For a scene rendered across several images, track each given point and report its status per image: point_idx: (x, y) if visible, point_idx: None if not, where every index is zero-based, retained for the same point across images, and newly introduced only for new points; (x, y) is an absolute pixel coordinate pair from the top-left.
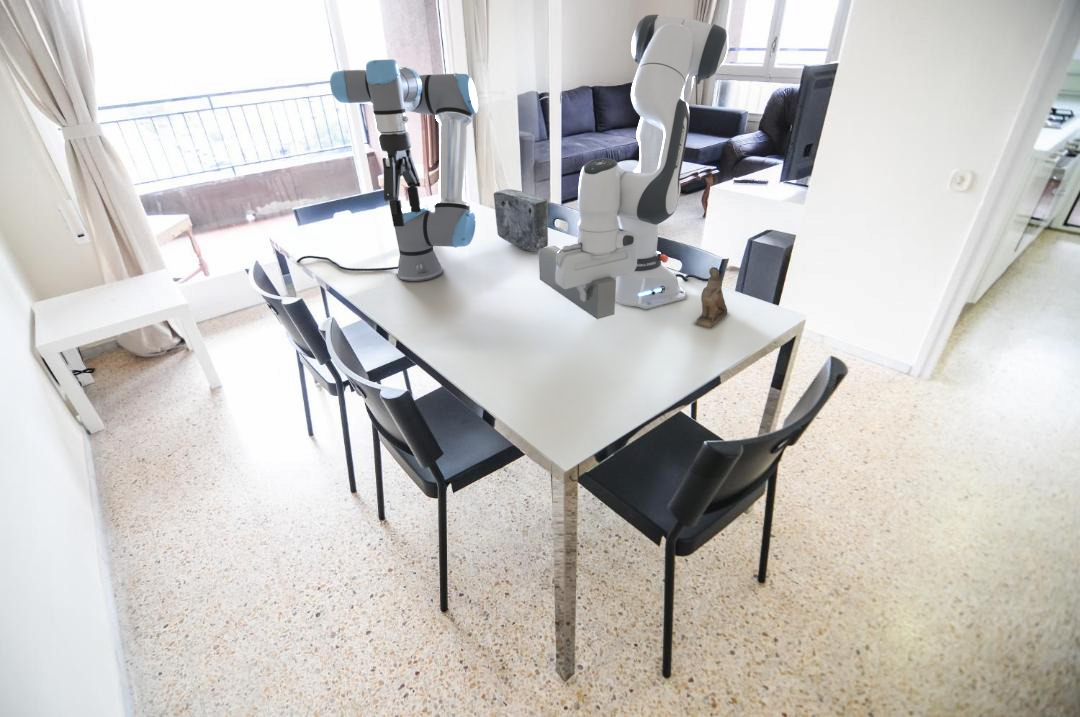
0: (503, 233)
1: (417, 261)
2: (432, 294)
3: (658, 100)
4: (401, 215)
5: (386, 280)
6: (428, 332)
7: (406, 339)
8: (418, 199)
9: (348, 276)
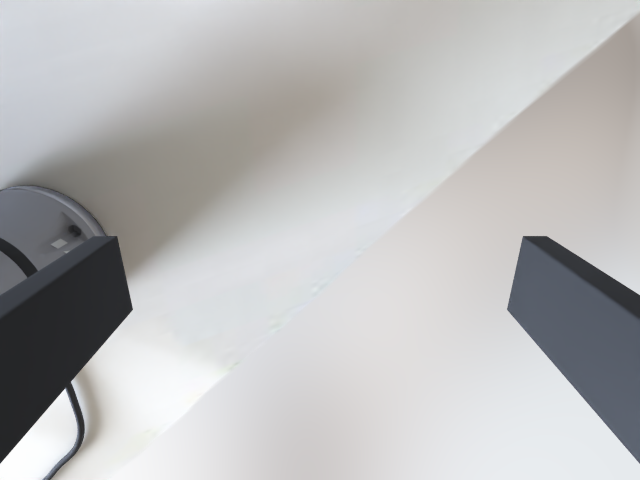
0: None
1: (53, 258)
2: (186, 167)
3: None
4: (609, 281)
5: None
6: (431, 103)
7: (466, 152)
8: (36, 288)
9: (117, 415)
